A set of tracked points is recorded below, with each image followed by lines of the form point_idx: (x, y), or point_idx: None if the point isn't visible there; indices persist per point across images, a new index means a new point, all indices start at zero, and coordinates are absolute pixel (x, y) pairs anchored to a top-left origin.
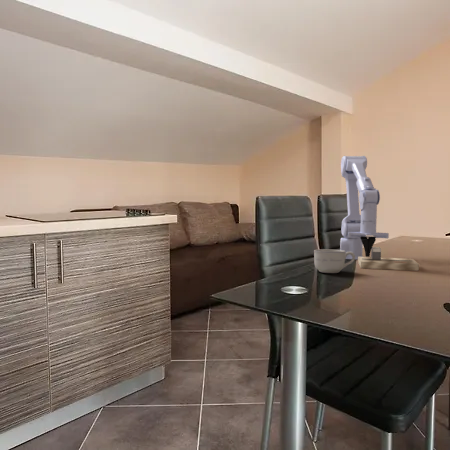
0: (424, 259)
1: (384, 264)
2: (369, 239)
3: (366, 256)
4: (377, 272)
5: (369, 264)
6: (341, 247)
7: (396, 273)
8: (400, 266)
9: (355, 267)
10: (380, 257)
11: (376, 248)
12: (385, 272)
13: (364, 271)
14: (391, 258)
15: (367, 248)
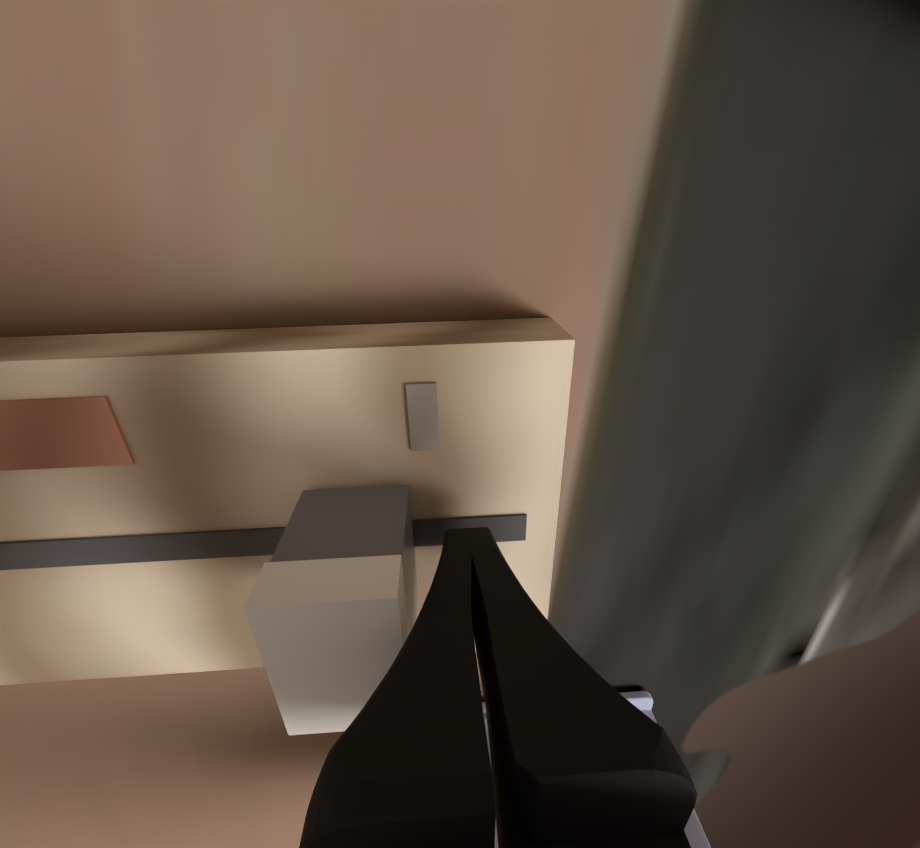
0: (30, 824)
1: (254, 344)
2: (484, 789)
3: (483, 528)
4: (353, 17)
5: (452, 332)
6: (691, 818)
7: (69, 5)
8: (53, 346)
9: (601, 350)
10: (298, 509)
11: (331, 630)
12: (239, 58)
13: (535, 58)
14: (202, 642)
15: (489, 610)
